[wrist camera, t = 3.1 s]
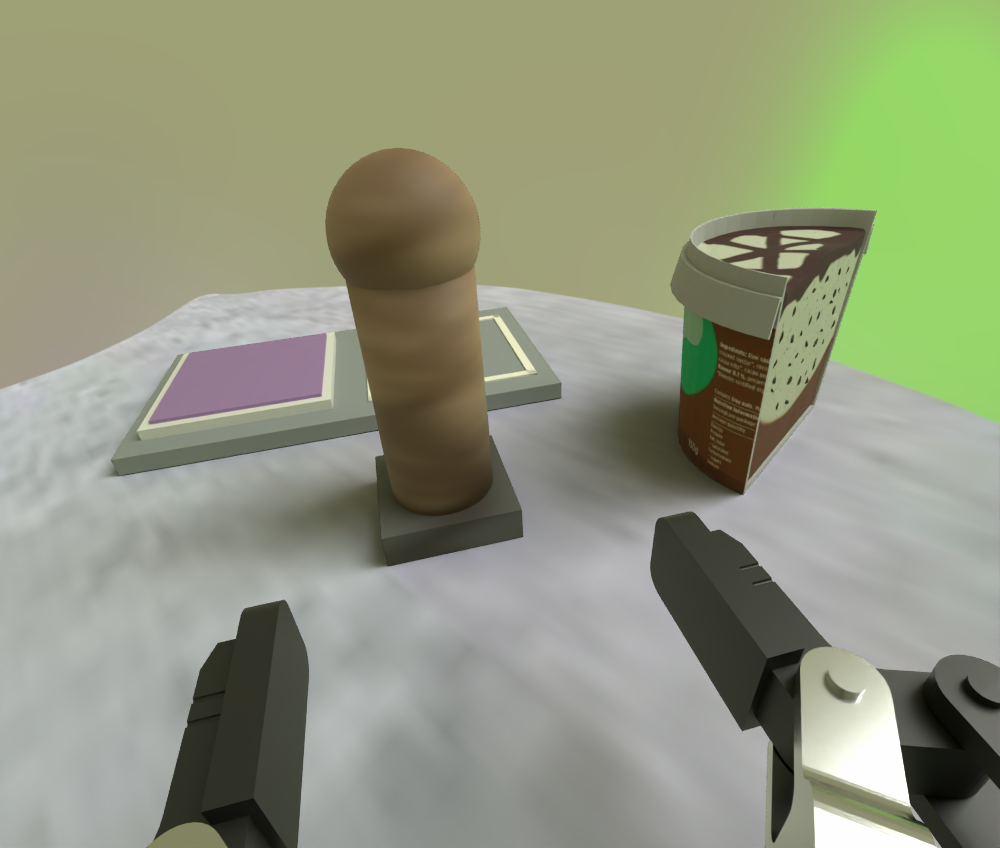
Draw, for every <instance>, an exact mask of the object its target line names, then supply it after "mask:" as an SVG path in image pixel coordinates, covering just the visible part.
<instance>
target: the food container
mask: <svg viewBox="0 0 1000 848" xmlns="http://www.w3.org/2000/svg"><path fill="white" fill-rule="evenodd" d="M876 212H877V211H875V210H863V209H845V208H844V209H843V208H789V209H772V210H762V211H753V212H745V213H738V214H733V215H728V216H724V217H720V218H716V219H713V220H710V221H708V222H705V223H703V224H701V225H700V226H698V227H696V228H695V229H694V230H693V231H692V233H691V236H690V240H689V241H688V242H687V243H686V244H685V245H684V246H683V248H682V251H681V254H680V257H679V260H678V263H677V266H676V269H675V272H674V274H673V278H672V281H671V284H670V285H671V290H672V293H673V294H674V296H675V297H676V299H677V300H678V301H679V302H680V303H681V304H683V305H684V326H683V346H682V367H681V387H680V408H679V429H678V436H679V442H680V445H681V447H682V449H683V451H684V453H685V454H686V455H687V457H688V458H689V459H690V461H691V462H692V463H693V464H694V465H695V466H697V467H698V468H699V469H700V470H701V471H702V472H704V473H705V474H706V475H708V476H709V477H710V478H712V479H714V480H715V481H717V482H719V483H721V484H722V485H724V486H726V487H728V488H730V489H732V490H734V491H737V492H739V493H741V494H744V493H745V492H746V491H747V489H748V488H749V487H750V486H751V484H752V483H753V482H754V481H755V480H756V478H757V477H758V476H759V475H760V473H761V472H762V471H763V470H764V468H765V467H766V466H767V465H768V463H769V462H770V461H771V460H772V458H773V457H774V456H775V455H776V453H777V452H778V451H779V450H780V449H781V447H782V446H783V445H784V444H785V442H786V441H787V440H788V439H789V437H790V436H791V435H792V434H793V432H794V431H795V430H796V429H797V427H798V426H799V425H800V424H801V422H802V421H803V420H804V419H805V418H806V416H807V415H808V414H809V413H810V411H811V410H812V409H813V408H814V405H815V402H816V399H817V396H818V393H819V390H820V387H821V383H822V380H823V377H824V374H825V371H826V368H827V365H828V362H829V359H830V356H831V352H832V349H833V346H834V343H835V340H836V337H837V334H838V330H839V328H840V325H841V321H842V318H843V315H844V312H845V309H846V306H847V303H848V300H849V297H850V294H851V290H852V287H853V284H854V281H855V278H856V275H857V272H858V269H859V266H860V263H861V260H862V256H863V254H866V253H867V249H868V245H869V241H870V238H871V234H872V230H873V226H874V224H873V222H874V219H875V216H876Z"/></svg>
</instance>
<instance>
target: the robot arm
mask: <svg viewBox="0 0 1000 848" xmlns="http://www.w3.org/2000/svg"><path fill="white" fill-rule="evenodd" d="M650 570H651V576H652V580H653V583H654V586H655V588H656V590H657V592H658V594H659V596H660V597H661V599H662V601H663V602H664V604H665V606H666V607H667V609H668V611H669V612H670V614H671V615H672V617H673V619H674V620H675V622H676V624H677V625H678V627H679V629H680V630H681V632H682V633H683V635H684V637H685V638H686V640H687V642H688V643H689V645H690V647H691V648H692V650H693V652H694V653H695V655H696V656H697V658H698V660H699V661H700V663H701V665H702V666H703V668H704V670H705V671H706V673H707V674H708V676H709V678H710V679H711V681H712V683H713V684H714V686H715V688H716V689H717V691H718V692H719V694H720V696H721V697H722V699H723V701H724V702H725V704H726V706H727V707H728V709H729V710H730V712H731V714H732V715H733V717H734V719H735V720H736V722H737V724H738V725H739V727H740V729H741V730H742V731H744V730H747V729H751V728H754V727H757V726H762V728H763V729H764V731H765V732H766V734H767V736H768V737H769V739H770V740H769V742H768V752H767V787H766V823H765V848H936V846H935V843H934V840H933V837H932V835H933V836H934V837H935V839H936V840H937V841H938V843H939V844H940V846H941V847H942V848H1000V668H999V667H997V666H995V665H993V664H991V663H989V662H987V661H984V660H982V659H979V658H975V657H972V656H966V655H950V656H947V657H944V658H942V659H941V660H940V661H939V662H938V663H937V664H936V666H935V667H934V669H933V671H932V672H931V673H929V672H914V671H899V670H884V669H877V668H874V667H873V666H872V665H871V664H869V663H868V662H867V661H865V660H864V659H862V658H861V657H859V656H857V655H855V654H853V653H851V652H849V651H846V650H843V649H839V648H835V647H832V646H831V645H830V644H828V642H827V641H826V640H825V639H824V638H823V637H822V636H821V635H820V634H819V633H818V631H817V630H816V629H815V628H814V627H813V626H812V624H811V623H810V622H809V621H808V620H807V619H806V617H805V616H804V615H803V614H802V613H801V612H800V610H799V609H798V608H797V607H796V606H795V605H794V603H793V602H792V601H791V600H790V599H789V598H788V596H787V595H786V594H785V593H784V592H783V591H782V590H781V588H780V587H779V586H778V585H777V584H776V583H775V582H773V581H772V579H771V577H770V576H769V574H768V573H767V572H766V571H765V570H764V569H763V567H762V566H759V565H758V562H757V560H756V559H755V558H754V557H753V556H752V555H751V553H750V552H749V551H748V550H747V549H746V548H745V546H744V545H743V544H742V543H740V542H739V541H737V540H735V539H734V538H732V537H731V536H729V535H728V534H726V533H725V532H723V531H721V530H715V531H711V532H710V531H709V529H708V528H707V527H706V526H705V524H704V523H703V522H702V521H701V520H700V518H699V517H698V516H697V515H696V514H695V513H693V512H685V513H681V514H676V515H672V516H667V517H662V518H659V519H658V520H657V522H656V525H655V533H654V540H653V548H652V556H651V563H650ZM308 682H309V664H308V656H307V651H306V647H305V644H304V642H303V639H302V637H301V635H300V632H299V630H298V627H297V625H296V623H295V620H294V618H293V615H292V613H291V611H290V608H289V606H288V604H287V602H286V601H285V600H281V601H276V602H272V603H267V604H263V605H258V606H253V607H249V608H245V609H244V610H243V611H242V614H241V617H240V622H239V627H238V631H237V636H236V639H233V640H229V641H225V642H220V643H218V644H217V645H216V647H215V648H214V650H213V651H212V653H211V654H210V656H209V657H208V659H207V660H206V662H205V663H204V665H203V666H202V668H201V669H200V672H199V676H198V680H197V684H196V688H195V692H194V696H193V704H191V708H190V712H189V716H188V720H187V724H188V725H187V728H185V731H184V735H183V739H182V743H181V747H180V751H179V755H178V759H177V763H176V767H175V771H174V775H173V778H172V782H171V786H170V790H169V794H168V798H167V802H166V806H165V810H164V814H163V818H162V821H161V824H160V827H159V829H158V832H157V834H156V836H155V838H154V840H153V842H152V843H150V844H149V845H148V846H147V847H146V848H297V845H298V831H299V816H300V801H301V786H302V771H303V756H304V742H305V727H306V712H307V697H308ZM910 804H911V806H912V807H913V808H914V810H915V811H916V812H917V814H918V815H919V817H920V818H921V819H922V821H923V822H924V823H923V822H920V821H918V820H916V819H915V818H914V816H913V814H912V811H911V808H910ZM929 830H930V831H929ZM931 833H932V835H931Z"/></svg>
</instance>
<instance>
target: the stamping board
mask: <svg viewBox="0 0 1000 848" xmlns="http://www.w3.org/2000/svg"><path fill="white" fill-rule="evenodd" d="M478 312H479V323H480V335H481V346H482V357H483V369H484V380H485V392H486V403H487V411H488V410H494V409H500V408H505V407H511V406H517V405H522V404H528V403H534V402H539V401H545V400H551V399H556V398H561V382H560V380H559V379H558V378H557V376H556V375H555V373H554V372H553V371H552V369H551V368H550V366H549V365H548V364H547V362H546V361H545V359H544V358H543V357H542V355H541V354H540V353H539V351H538V350H537V348H536V347H535V346H534V344H533V343H532V341H531V340H530V339H529V337H528V336H527V334H526V333H525V332H524V330H523V329H522V328H521V326H520V325H519V323H518V322H517V321H516V319H515V318H514V316H513V315H512V314H511V312H510V311H509V309H508V308H507V307H505V308H498V309H491V310H484V311H478ZM375 430H379V429H378V425H377V420H376V416H375V411H374V407H373V402H372V398H371V393H370V389H369V384H368V379H367V375H366V370H365V366H364V361H363V357H362V352H361V348H360V343H359V339H358V334H357V330H356V329H353V330H346V331H340V332H331V333H323V334H316V335H309V336H303V337H296V338H289V339H282V340H275V341H268V342H261V343H254V344H247V345H241V346H234V347H227V348H220V349H213V350H206V351H199V352H192V353H186V354H181V355H178V356H177V357H176V359H175V360H174V362H173V363H172V365H171V367H170V368H169V370H168V371H167V373H166V374H165V376H164V378H163V379H162V381H161V382H160V384H159V385H158V387H157V389H156V390H155V392H154V393H153V395H152V396H151V398H150V399H149V401H148V403H147V404H146V406H145V407H144V409H143V410H142V412H141V414H140V415H139V417H138V418H137V420H136V421H135V423H134V425H133V426H132V428H131V429H130V431H129V432H128V434H127V436H126V437H125V439H124V440H123V442H122V443H121V445H120V447H119V448H118V450H117V451H116V453H115V454H114V456H113V458H112V459H111V461H112V463H113V465H114V467H115V468H116V470H117V472H118V474H119V475H126V474H132V473H137V472H143V471H149V470H154V469H160V468H166V467H171V466H177V465H183V464H188V463H194V462H200V461H205V460H211V459H217V458H222V457H228V456H234V455H239V454H245V453H251V452H256V451H262V450H268V449H273V448H279V447H285V446H290V445H296V444H302V443H307V442H313V441H319V440H324V439H330V438H336V437H341V436H347V435H353V434H358V433H364V432H370V431H375Z"/></svg>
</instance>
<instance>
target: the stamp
mask: <svg viewBox="0 0 1000 848" xmlns="http://www.w3.org/2000/svg"><path fill="white" fill-rule="evenodd" d="M325 222H326V236H327V242H328V246H329V250H330V253H331V256H332V258H333V261H334V263H335V265H336V266H337V268H338V270H339V272H340V273H341V274H342V276H343V277H344V278H345V280H346V284H347V289H348V293H349V298H350V302H351V307H352V311H353V316H354V321H355V325H356V330H357V334H358V339H359V343H360V348H361V352H362V357H363V361H364V366H365V370H366V375H367V379H368V384H369V389H370V393H371V398H372V402H373V407H374V411H375V416H376V420H377V425H378V429H379V434H380V438H381V443H382V447H383V452H384V455H383V456H377V457H375V459H376V472H377V486H378V500H379V514H380V527H381V540H382V544H383V548H384V552H385V556H386V560H387V564H388V566H392V565H396V564H401V563H405V562H410V561H414V560H419V559H424V558H428V557H433V556H437V555H442V554H446V553H451V552H456V551H460V550H465V549H469V548H474V547H478V546H483V545H488V544H492V543H497V542H501V541H506V540H510V539H515V538H520V537H523V526H522V509H521V507H520V504H519V502H518V500H517V497H516V495H515V492H514V490H513V487H512V485H511V483H510V480H509V478H508V475H507V473H506V470H505V468H504V465H503V463H502V461H501V458H500V456H499V453H498V451H497V448H496V446H495V444H494V441H493V439H492V436H489V426H488V415H487V403H486V392H485V380H484V369H483V357H482V346H481V335H480V323H479V312H478V300H477V289H476V278H475V266H474V264H475V262H476V259H477V256H478V252H479V246H480V222H479V216H478V212H477V209H476V205H475V203H474V200H473V198H472V196H471V194H470V192H469V190H468V189H467V187H466V186H465V184H464V183H463V182H462V180H461V179H460V178H459V176H458V175H457V174H456V173H455V172H454V171H453V170H452V169H451V168H449V167H448V166H447V165H446V164H444V163H443V162H441V161H440V160H438V159H436V158H435V157H433V156H430V155H428V154H426V153H423V152H420V151H416V150H412V149H403V148H393V149H385V150H381V151H377V152H374V153H371V154H369V155H367V156H365V157H363V158H361V159H360V160H359V161H357V162H356V163H354V164H353V165H352V166H351V167H350V168H349V169H347V170H346V171H345V173H344V174H343V175H342V176H341V178H340V179H339V180H338V182H337V184H336V186H335V187H334V189H333V191H332V194H331V196H330V199H329V203H328V207H327V211H326V221H325Z"/></svg>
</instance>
